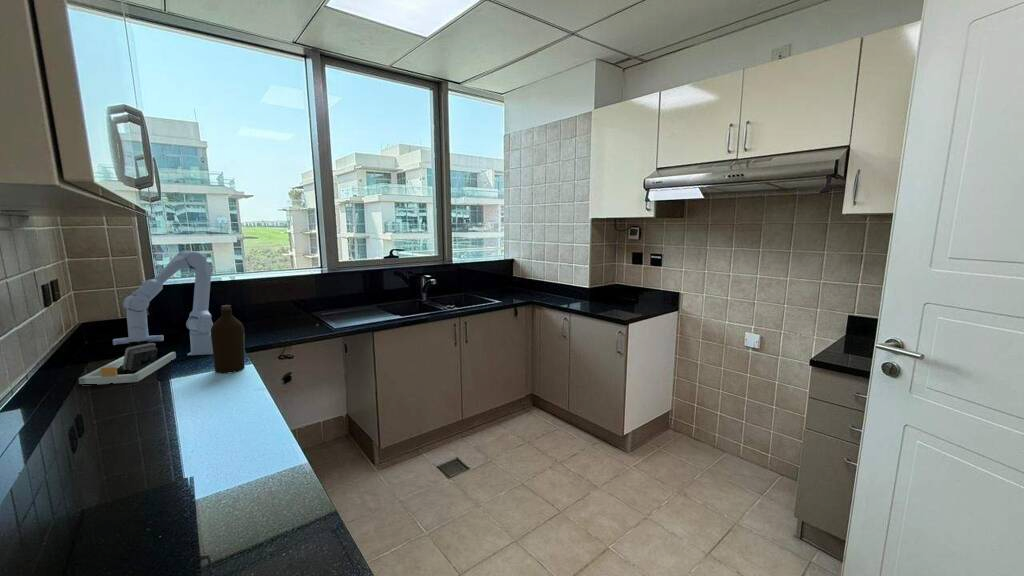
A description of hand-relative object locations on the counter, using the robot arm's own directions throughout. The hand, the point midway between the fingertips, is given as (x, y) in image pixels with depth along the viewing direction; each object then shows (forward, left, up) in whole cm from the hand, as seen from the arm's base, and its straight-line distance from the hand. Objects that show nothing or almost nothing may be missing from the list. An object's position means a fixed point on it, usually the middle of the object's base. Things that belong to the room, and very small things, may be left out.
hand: (140, 360), depth 161 cm
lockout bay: (0, +6, -2) cm, 6 cm away
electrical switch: (-2, +3, -2) cm, 4 cm away
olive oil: (-34, +13, -2) cm, 36 cm away
